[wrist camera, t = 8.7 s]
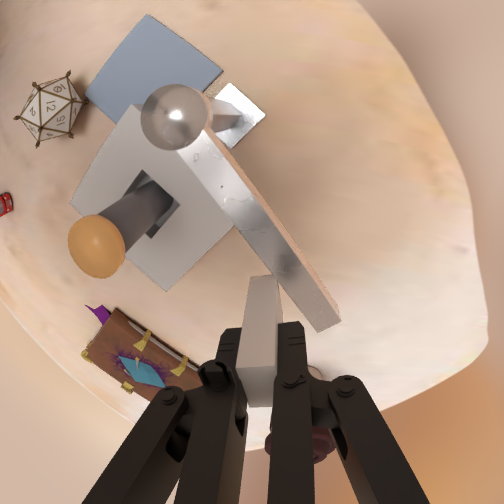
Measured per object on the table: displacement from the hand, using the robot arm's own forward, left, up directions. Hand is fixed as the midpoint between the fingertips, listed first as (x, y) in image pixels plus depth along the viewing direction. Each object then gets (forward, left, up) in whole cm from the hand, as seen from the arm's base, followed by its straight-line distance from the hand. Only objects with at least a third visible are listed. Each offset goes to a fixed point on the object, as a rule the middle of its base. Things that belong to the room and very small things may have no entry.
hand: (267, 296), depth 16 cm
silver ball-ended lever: (-4, +3, -1) cm, 5 cm away
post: (-10, +4, -17) cm, 20 cm away
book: (+3, -35, -18) cm, 39 cm away
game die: (-27, -8, -17) cm, 33 cm away
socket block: (-10, -8, -17) cm, 21 cm away
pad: (-20, +1, -17) cm, 26 cm away
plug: (-10, -8, -16) cm, 21 cm away
